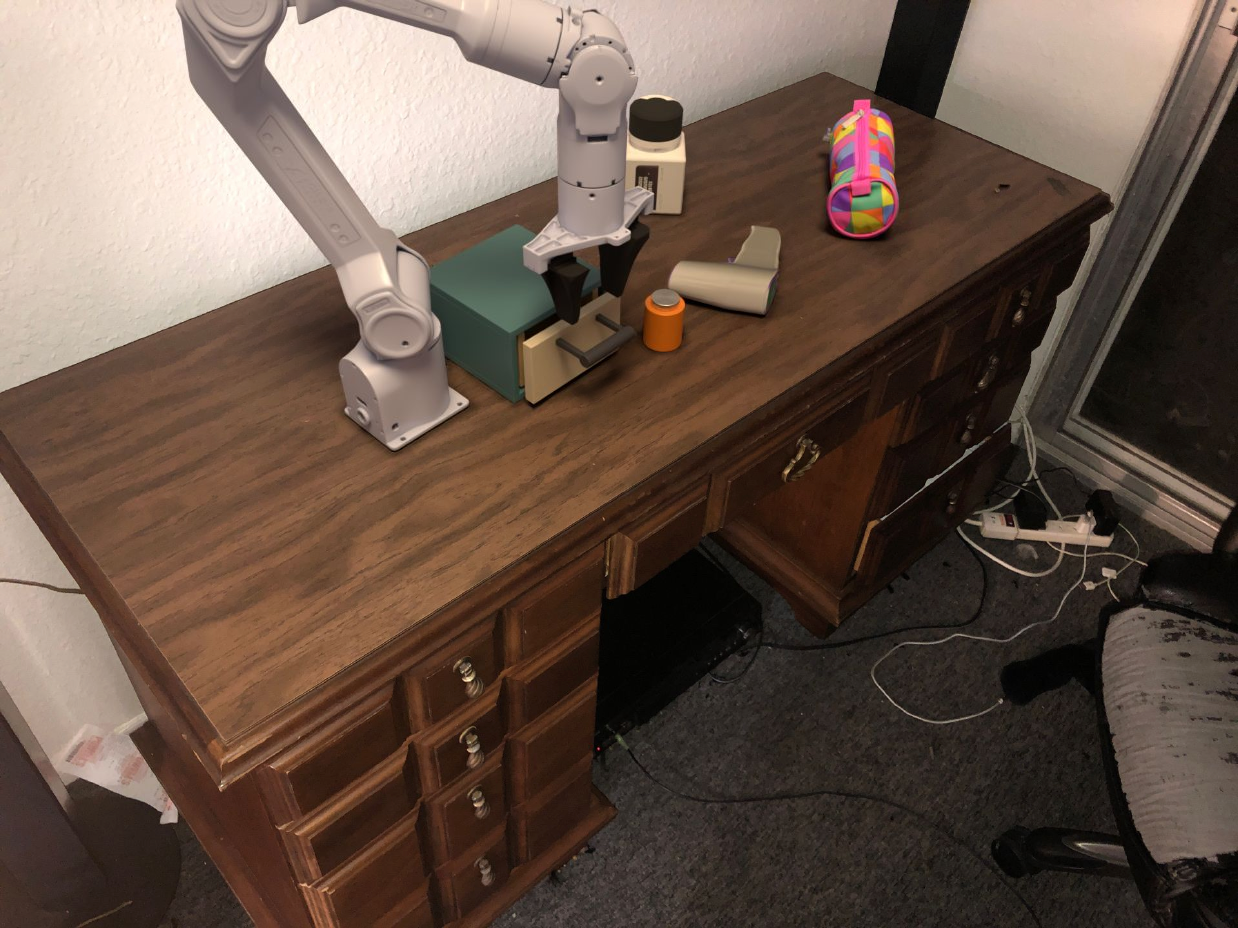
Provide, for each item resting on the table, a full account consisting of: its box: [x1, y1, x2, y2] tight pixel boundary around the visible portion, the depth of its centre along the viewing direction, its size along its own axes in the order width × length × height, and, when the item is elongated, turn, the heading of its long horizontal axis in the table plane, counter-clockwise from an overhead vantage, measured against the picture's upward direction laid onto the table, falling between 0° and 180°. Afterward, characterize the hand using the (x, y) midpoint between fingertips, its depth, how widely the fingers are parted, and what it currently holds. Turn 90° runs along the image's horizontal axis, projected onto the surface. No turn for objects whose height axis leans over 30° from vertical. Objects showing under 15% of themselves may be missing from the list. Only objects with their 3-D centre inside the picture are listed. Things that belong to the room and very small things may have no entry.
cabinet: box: [429, 223, 607, 404], centre depth 98 cm, size 14×14×9 cm
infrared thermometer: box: [666, 225, 782, 316], centre depth 110 cm, size 5×12×15 cm
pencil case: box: [821, 99, 900, 240], centre depth 121 cm, size 22×9×9 cm, turn 172°
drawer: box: [516, 288, 637, 405], centre depth 96 cm, size 17×12×7 cm
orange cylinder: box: [642, 288, 686, 353], centre depth 100 cm, size 4×4×6 cm
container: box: [625, 94, 687, 216], centre depth 119 cm, size 8×8×13 cm
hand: (590, 305), depth 89 cm, fingers open, 5 cm apart
